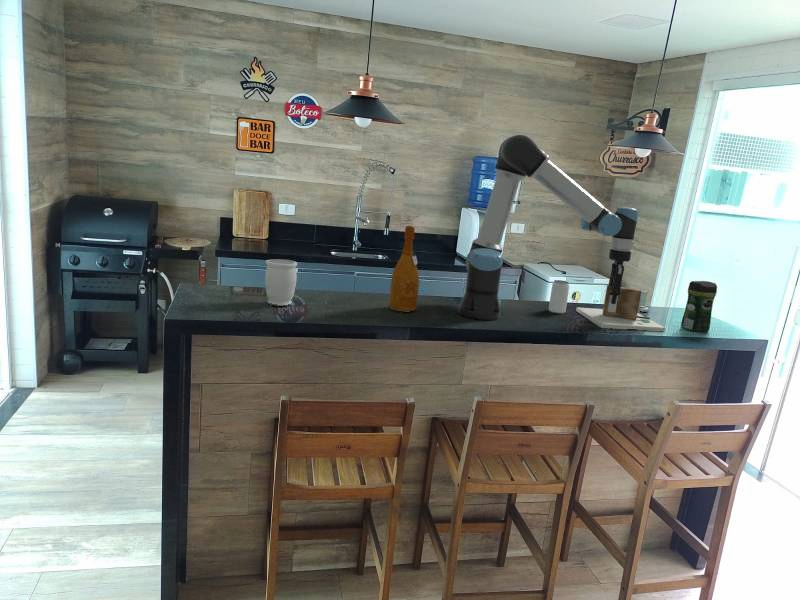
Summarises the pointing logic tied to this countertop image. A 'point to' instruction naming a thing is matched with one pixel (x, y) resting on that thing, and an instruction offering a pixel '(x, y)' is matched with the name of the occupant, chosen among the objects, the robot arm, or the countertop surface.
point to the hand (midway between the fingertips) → (610, 310)
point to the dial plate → (618, 320)
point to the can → (559, 296)
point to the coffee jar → (699, 306)
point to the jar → (280, 281)
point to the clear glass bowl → (643, 302)
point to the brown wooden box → (624, 303)
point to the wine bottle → (405, 277)
